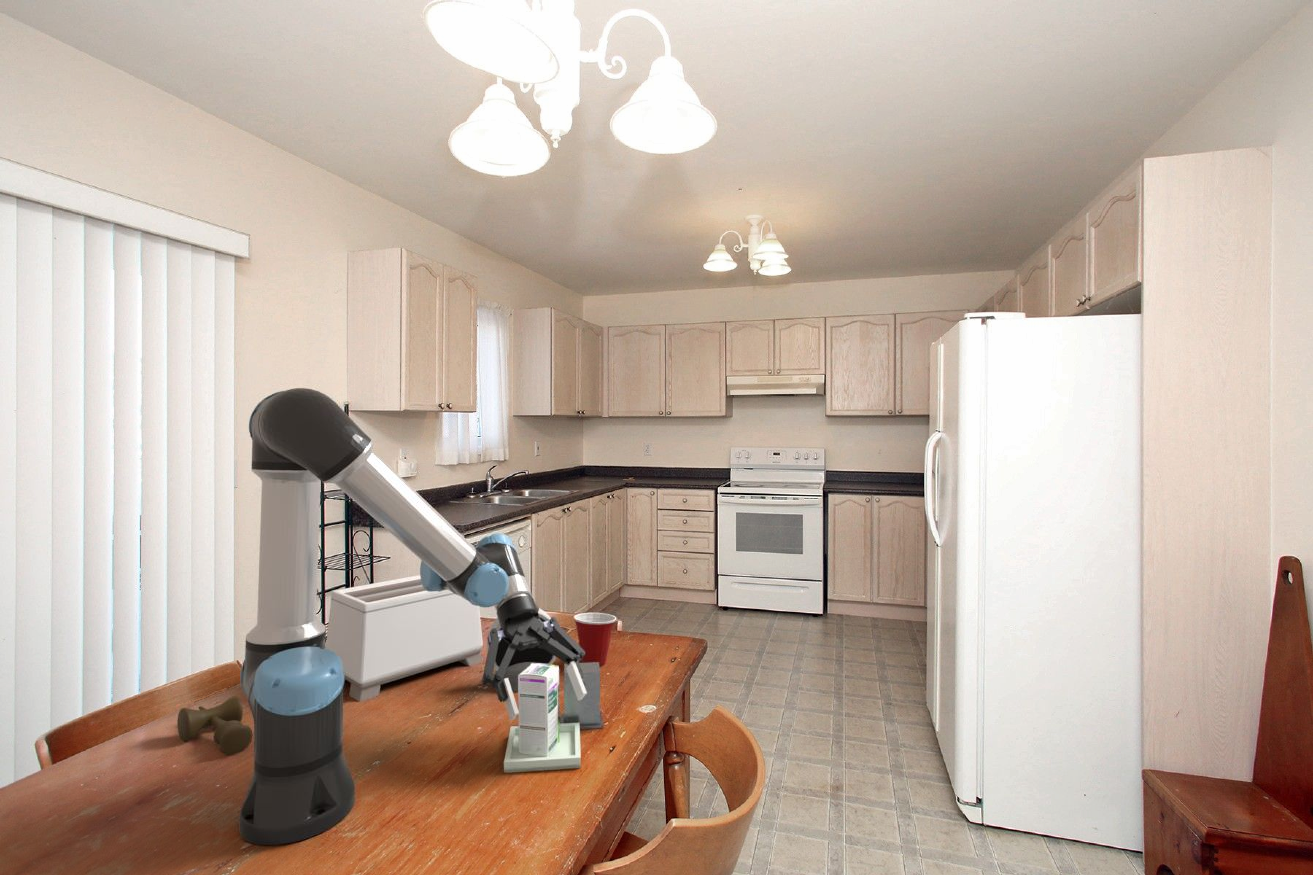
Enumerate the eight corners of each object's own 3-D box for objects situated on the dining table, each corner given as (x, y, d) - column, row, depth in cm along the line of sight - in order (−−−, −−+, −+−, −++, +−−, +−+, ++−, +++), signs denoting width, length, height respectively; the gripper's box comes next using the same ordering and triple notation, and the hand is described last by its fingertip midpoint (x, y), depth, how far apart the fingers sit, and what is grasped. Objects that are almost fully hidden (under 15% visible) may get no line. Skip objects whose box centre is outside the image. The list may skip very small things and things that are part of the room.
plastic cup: (624, 661, 157) (625, 614, 157) (598, 674, 148) (599, 624, 148) (591, 652, 163) (591, 607, 163) (564, 665, 154) (564, 617, 154)
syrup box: (547, 758, 109) (548, 676, 109) (516, 754, 110) (517, 673, 110) (559, 742, 114) (560, 664, 114) (530, 738, 116) (530, 661, 116)
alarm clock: (488, 695, 136) (489, 613, 136) (485, 678, 146) (486, 601, 145) (561, 686, 141) (562, 607, 141) (554, 670, 151) (554, 595, 151)
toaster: (494, 658, 158) (495, 578, 158) (359, 702, 132) (360, 606, 132) (453, 641, 171) (453, 567, 171) (322, 678, 145) (322, 591, 144)
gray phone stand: (560, 730, 120) (560, 674, 120) (560, 716, 126) (560, 662, 126) (603, 727, 122) (603, 672, 122) (601, 714, 128) (602, 661, 127)
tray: (503, 772, 105) (503, 762, 105) (510, 735, 118) (510, 726, 118) (580, 767, 107) (580, 757, 107) (579, 731, 120) (579, 722, 120)
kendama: (205, 768, 107) (169, 730, 119) (266, 748, 114) (227, 714, 127) (206, 734, 107) (170, 699, 119) (268, 715, 114) (228, 685, 127)
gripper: (563, 604, 132) (600, 698, 121) (447, 625, 117) (476, 735, 105) (576, 584, 128) (615, 680, 116) (457, 604, 113) (489, 716, 101)
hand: (550, 706), depth 111 cm, fingers open, 13 cm apart
